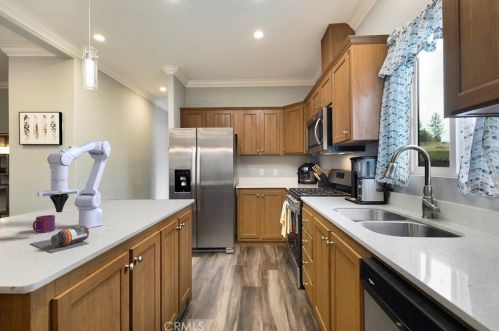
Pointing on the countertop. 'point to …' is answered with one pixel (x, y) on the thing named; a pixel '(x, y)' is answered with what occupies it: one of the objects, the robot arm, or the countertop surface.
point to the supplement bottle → (70, 236)
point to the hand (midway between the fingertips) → (59, 212)
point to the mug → (44, 224)
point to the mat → (50, 248)
